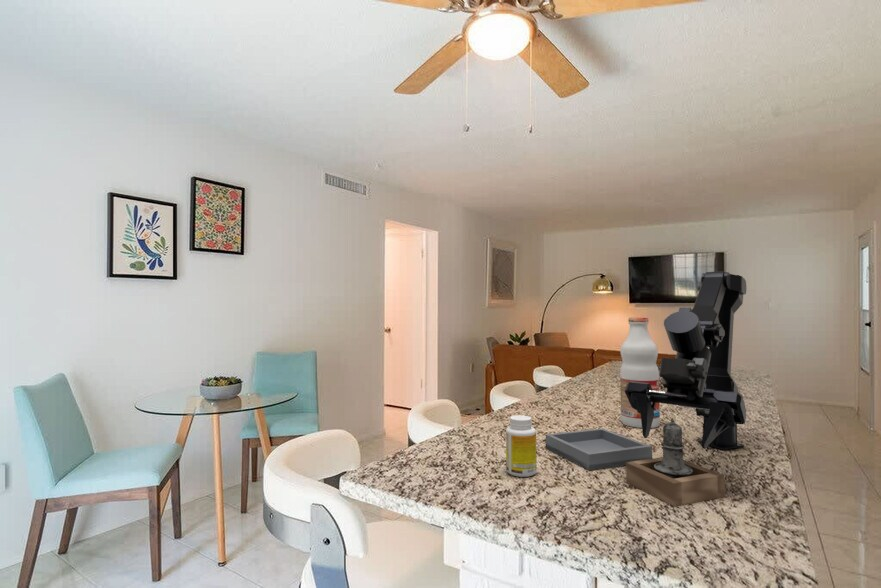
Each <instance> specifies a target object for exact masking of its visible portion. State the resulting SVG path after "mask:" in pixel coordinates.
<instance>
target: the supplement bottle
mask: <svg viewBox="0 0 881 588" xmlns="http://www.w3.org/2000/svg"><path fill="white" fill-rule="evenodd" d="M532 422H533V421H532V417H531V416H528V415H523V414H521V415H520V414H519V415H517V414H516V415H511V416H510V417H509V426H508V427H507V428H506V430H505V457H506V458H505V459H506V460H505V461H506V471H507V473H508V474H509V475H511V476H513V477H519V478H528V477H532V476H534V475H535V474H536V473H537V430H536V429H535V427H533V425H532V424H533V423H532Z"/></svg>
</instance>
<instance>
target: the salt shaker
mask: <svg viewBox="0 0 881 588" xmlns="http://www.w3.org/2000/svg"><path fill="white" fill-rule="evenodd" d="M660 446H661V447H662V457H663V459H662V462H661V463H657V464H655V465H654V468H655V469H656V471H657V472H659V473H661V474H664V475H666V476H668V477H671V478H673V479H676V478H682V477H688V476H691V474H692V473H693V470H692V469H691V468H690V467H688V466H686V465H685V464H684V461H683V460H684V454H683V453H684V449H685V447H686V446H685V445H684V444H683V431H682V427H681V426H680V425H679V424H678V423H675V419H674V418H673V417H671V418H670V419H669V422H667V423H665V424H664V425H663V426H662V442H661V443H660Z"/></svg>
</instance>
